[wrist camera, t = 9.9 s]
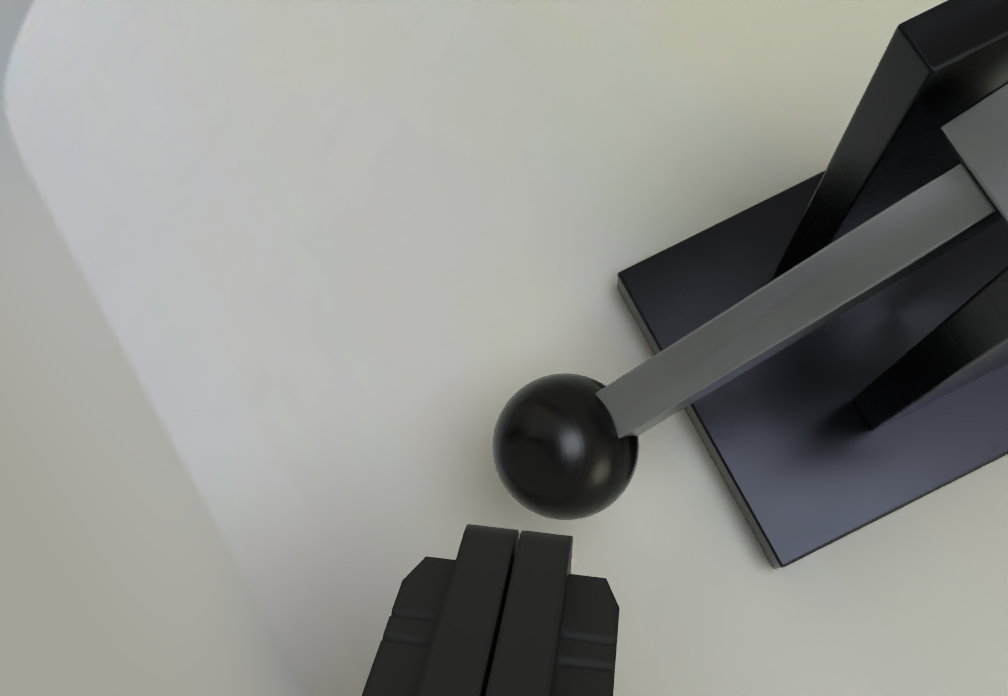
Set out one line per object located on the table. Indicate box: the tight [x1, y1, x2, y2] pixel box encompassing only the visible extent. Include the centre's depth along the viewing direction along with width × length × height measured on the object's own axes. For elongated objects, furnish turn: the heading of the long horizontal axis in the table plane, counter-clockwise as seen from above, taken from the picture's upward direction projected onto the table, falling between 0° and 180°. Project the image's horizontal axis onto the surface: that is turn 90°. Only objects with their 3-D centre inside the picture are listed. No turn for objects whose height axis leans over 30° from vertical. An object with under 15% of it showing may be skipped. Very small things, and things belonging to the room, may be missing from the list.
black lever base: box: [617, 0, 1008, 569], centre depth 21 cm, size 12×9×13 cm
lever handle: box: [493, 81, 1008, 520], centre depth 19 cm, size 14×3×3 cm, turn 116°
